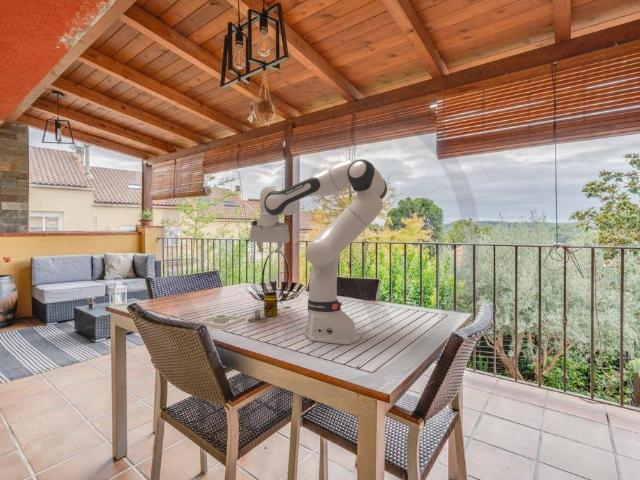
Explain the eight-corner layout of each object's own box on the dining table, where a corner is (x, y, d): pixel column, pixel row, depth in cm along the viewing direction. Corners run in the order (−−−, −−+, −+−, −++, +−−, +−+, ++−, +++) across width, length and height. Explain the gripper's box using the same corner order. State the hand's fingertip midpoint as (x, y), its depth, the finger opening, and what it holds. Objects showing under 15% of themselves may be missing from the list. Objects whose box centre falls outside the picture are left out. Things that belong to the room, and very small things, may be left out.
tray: (244, 322, 154) (244, 317, 154) (222, 330, 142) (222, 325, 142) (221, 318, 161) (221, 313, 161) (198, 326, 148) (197, 320, 148)
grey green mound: (271, 320, 158) (271, 309, 158) (259, 325, 150) (259, 313, 150) (255, 318, 162) (255, 307, 162) (243, 322, 154) (243, 311, 154)
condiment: (264, 319, 160) (264, 293, 159) (261, 315, 168) (261, 290, 167) (279, 318, 162) (280, 293, 161) (276, 314, 170) (276, 289, 170)
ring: (231, 322, 152) (231, 315, 152) (221, 325, 147) (221, 318, 147) (221, 320, 155) (221, 314, 155) (211, 323, 150) (211, 317, 150)
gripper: (292, 222, 157) (292, 253, 157) (256, 222, 166) (256, 251, 167) (284, 222, 151) (284, 253, 152) (247, 222, 160) (247, 251, 161)
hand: (269, 252), depth 159 cm, fingers open, 8 cm apart
